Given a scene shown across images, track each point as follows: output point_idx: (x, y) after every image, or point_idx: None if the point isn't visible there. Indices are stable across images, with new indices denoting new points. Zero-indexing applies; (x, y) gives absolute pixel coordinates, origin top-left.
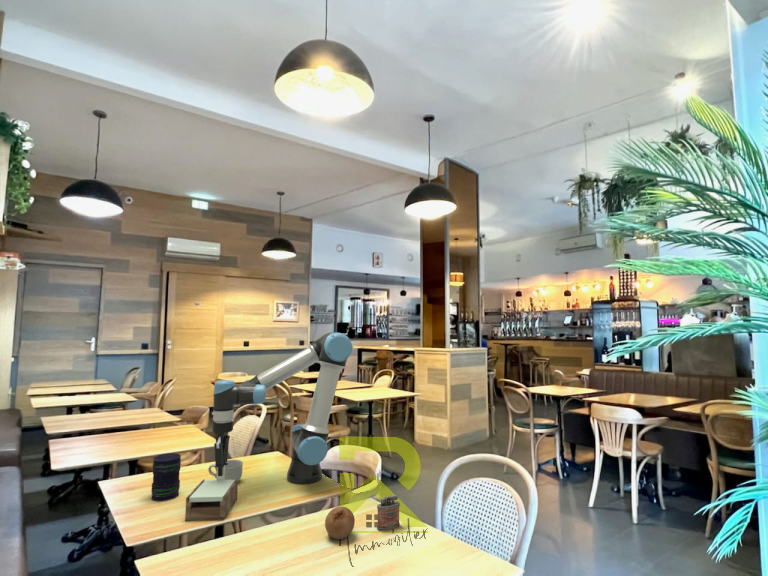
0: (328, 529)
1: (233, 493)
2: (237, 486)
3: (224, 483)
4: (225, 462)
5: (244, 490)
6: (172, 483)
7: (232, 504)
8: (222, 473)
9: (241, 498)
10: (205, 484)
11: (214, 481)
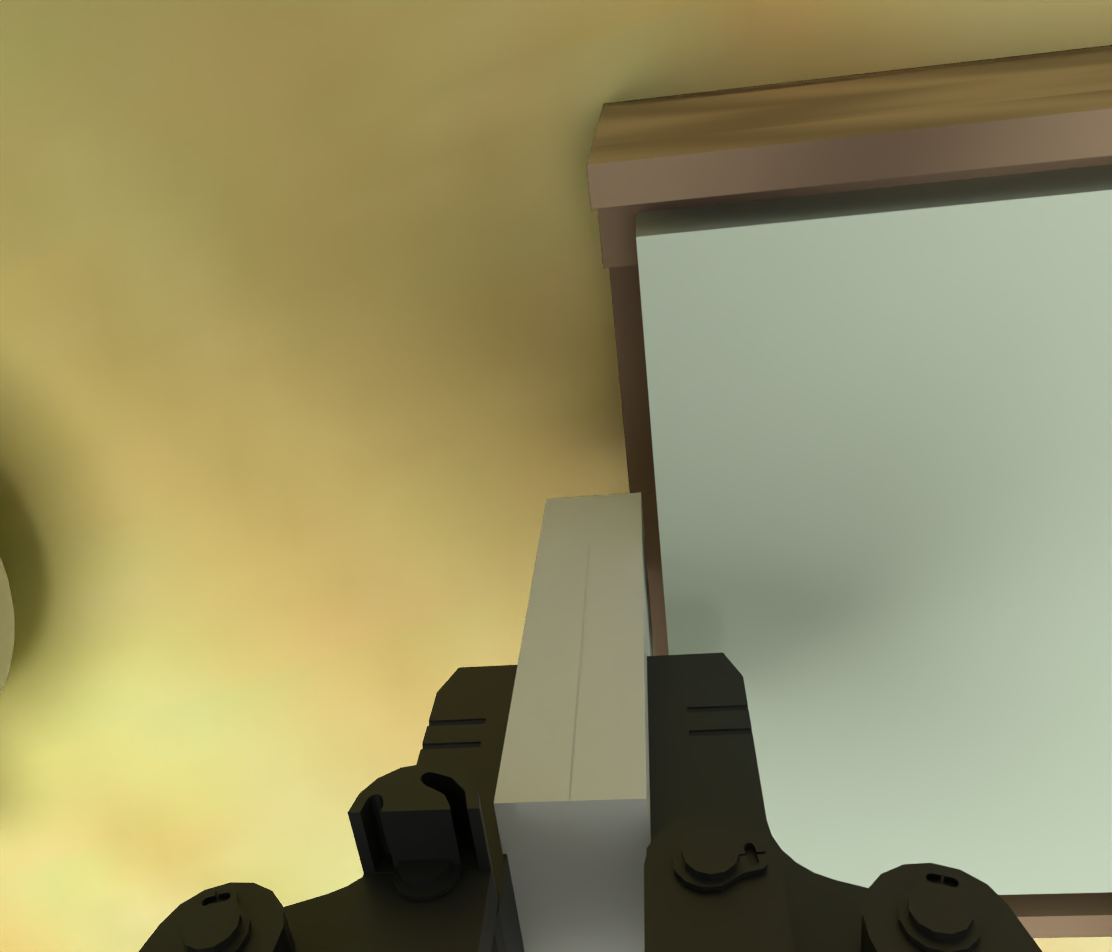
0: None
1: (1063, 79)
2: (624, 132)
3: (970, 436)
4: (427, 905)
5: (130, 121)
6: None
7: (1035, 58)
8: (647, 688)
9: (553, 26)
10: (974, 825)
11: (784, 713)
